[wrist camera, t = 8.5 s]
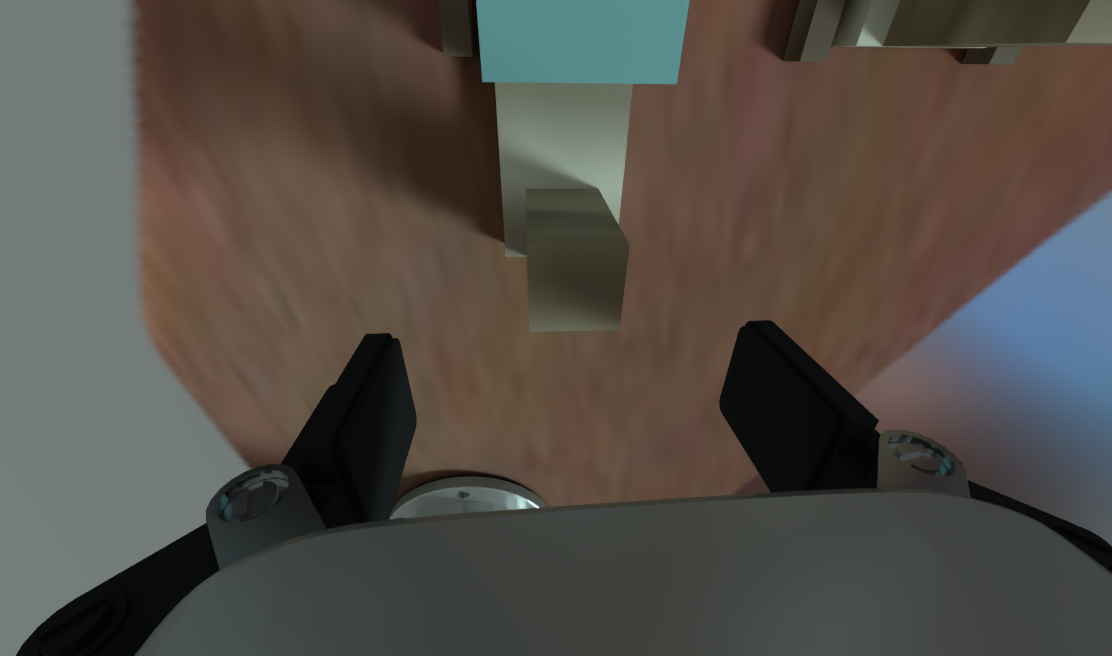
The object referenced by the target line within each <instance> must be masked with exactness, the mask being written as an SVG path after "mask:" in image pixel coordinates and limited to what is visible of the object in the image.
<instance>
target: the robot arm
mask: <svg viewBox="0 0 1112 656" xmlns="http://www.w3.org/2000/svg"><path fill="white" fill-rule="evenodd" d="M719 406H720V410H721V412H722V414H723V416H724V417H725V419H726V421H727V422H728V424H729V425H730V427H731V429H732V430H733V432H734V434H735V435H736V437H737V438H738V440H739V442H740V443H741V445H742V446H743V448H744V450H745V451H746V453H747V455H748V456H749V458H750V459H751V461H752V463H753V464H754V466H755V467H756V469H757V471H758V472H759V474H760V475H761V477H762V479H763V480H764V482H765V484H766V485H767V487H768V488H769V490H770V491H771V493H757V494H741V495H724V496H707V497H691V498H676V499H660V500H645V501H630V502H615V503H600V504H585V505H570V506H556V507H547V506H546V505H545V504H544V502H543V501H542V500H541V499H540V498H539V497H537V496H536V495H535V494H534V493H532V492H530V491H529V490H527V489H525V488H523V487H522V486H519V485H516V484H514V483H511V482H508V481H504V480H500V479H495V478H488V477H478V476H465V477H453V478H446V479H441V480H437V481H433V482H430V483H427V484H424V485H422V486H420V487H418V488H415V489H413V490H412V491H410V492H409V493H407V494H406V495H404V496H403V497H402V498H401V499H400V500H399V501H398V502H397V503H396V504H395V506H394V508H393V510H392V511H391V509H392V506H393V502H394V499H395V496H396V492H397V489H398V486H399V482H400V479H401V476H402V472H403V469H404V465H405V462H406V459H407V455H408V452H409V449H410V445H411V442H412V439H413V435H414V432H415V428H416V420H417V419H416V412H415V407H414V403H413V398H412V394H411V389H410V385H409V380H408V376H407V372H406V367H405V363H404V358H403V354H402V349H401V345H400V341H399V339H397V338H392V336H391V334H389V333H380V334H366V335H365V336H364V338H363V339H362V341H361V343H360V344H359V346H358V348H357V349H356V351H355V352H354V354H353V356H352V357H351V359H350V361H349V362H348V364H347V366H346V367H345V369H344V370H343V372H342V374H341V375H340V377H339V379H338V380H337V382H336V384H334V385H332V386H330V387H329V388H328V389H327V391H326V392H325V394H324V396H323V397H322V399H321V400H320V402H319V404H318V405H317V407H316V408H315V410H314V412H313V413H312V415H311V416H310V418H309V420H308V421H307V423H306V424H305V426H304V428H303V429H302V431H301V432H300V434H299V436H298V437H297V439H296V440H295V442H294V444H293V445H292V447H291V448H290V450H289V452H288V453H287V455H286V456H285V458H284V460H283V461H282V463H281V464H269V465H264V466H259V467H256V468H254V469H251V470H249V471H246V472H244V473H242V474H241V475H239V476H237V477H235V478H234V479H232V480H231V481H229V482H228V483H227V484H226V485H224V486H223V487H222V488H221V489H220V490H219V491H218V492H217V493H216V494H215V496H214V497H213V498H212V499H211V501H210V503H209V505H208V507H207V509H206V522H207V523H206V524H204V525H202V526H200V527H199V528H197V529H195V530H194V531H192V532H190V533H188V534H186V535H185V536H183V537H181V538H180V539H178V540H176V541H174V542H173V543H171V544H169V545H167V546H166V547H164V548H163V549H161V550H159V551H157V552H155V553H154V554H152V555H150V556H148V557H147V558H145V559H143V560H142V561H140V562H138V563H137V564H135V565H133V566H131V567H129V568H128V569H126V570H124V571H123V572H121V573H119V574H117V575H116V576H114V577H112V578H110V579H109V580H107V581H105V582H104V583H102V584H100V585H98V586H97V587H95V588H93V589H92V590H90V591H88V592H86V593H84V594H83V595H81V596H80V597H78V598H76V599H74V600H73V601H71V602H70V603H68V604H67V605H65V606H64V607H63V608H61V609H59V610H58V611H56V612H55V613H54V614H53V615H52V616H50V617H49V618H48V619H47V620H46V621H45V622H43V623H42V624H41V625H40V626H39V627H38V628H37V629H36V630H35V631H34V632H33V633H32V635H31V636H30V637H29V638H28V639H27V640H26V641H25V643H24V644H23V645H22V646H21V648H20V650H19V651H18V653H17V655H16V656H1112V546H1111V545H1109V544H1108V543H1107V542H1106V541H1105V540H1103V539H1102V538H1101V537H1099V536H1098V535H1096V534H1094V533H1092V532H1091V531H1089V530H1086V529H1084V528H1082V527H1079V526H1077V525H1074V524H1072V523H1070V522H1068V521H1065V520H1063V519H1060V518H1058V517H1055V516H1053V515H1051V514H1048V513H1046V512H1043V511H1041V510H1039V509H1036V508H1034V507H1031V506H1029V505H1027V504H1024V503H1022V502H1019V501H1017V500H1014V499H1012V498H1010V497H1007V496H1005V495H1002V494H1000V493H998V492H995V491H993V490H990V489H988V488H985V487H983V486H980V485H978V484H976V483H973V482H971V481H969V480H967V476H966V471H965V468H964V466H963V464H962V462H961V461H960V460H959V459H958V458H957V457H956V455H955V454H953V453H952V452H951V451H950V450H948V449H947V448H946V447H944V446H943V445H941V444H939V443H938V442H936V441H934V440H932V439H930V438H928V437H925V436H923V435H921V434H918V433H914V432H910V431H906V430H897V429H895V430H887V431H885V432H884V433H882V434H881V435H880V434H879V433H878V432H877V431H876V430H875V427H876V425H877V423H878V421H879V420H878V419H877V418H876V417H874V416H873V415H872V414H871V413H870V412H869V411H868V410H867V409H866V408H865V407H864V406H863V405H862V404H861V403H859V402H858V401H857V400H856V399H855V398H854V397H853V396H852V395H851V394H850V393H849V392H848V391H847V390H846V389H845V388H843V387H842V386H841V385H840V384H839V383H838V382H837V381H836V380H835V379H834V378H833V377H832V376H831V375H829V374H828V373H827V372H826V371H825V370H824V369H823V368H822V367H821V366H820V365H819V364H818V363H817V362H816V361H814V360H813V359H812V358H811V357H810V356H809V355H808V354H807V353H806V352H805V351H804V350H803V349H802V348H801V347H799V346H798V345H797V344H796V343H795V342H794V341H793V340H792V339H791V338H790V337H789V336H788V335H787V334H785V333H784V332H783V331H782V330H781V329H780V328H779V327H778V326H777V325H776V324H775V323H774V322H772V321H769V320H765V321H749V322H747V323H746V325H745V326H743V327H741V328H740V330H739V332H738V336H737V339H736V343H735V347H734V350H733V354H732V357H731V361H730V364H729V368H728V371H727V375H726V379H725V382H724V386H723V389H722V393H721V396H720V401H719ZM390 512H391V513H390ZM389 516H390V517H389ZM388 519H389V520H388Z"/></svg>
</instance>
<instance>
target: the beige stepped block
mask: <svg viewBox="0 0 1112 656" xmlns="http://www.w3.org/2000/svg"><path fill="white" fill-rule="evenodd" d="M632 87H633V84H618V83H525V82H495V93H496V109H497V125H498V141H499V158H500V174H501V190H502V206H503V223H504V239H505V255H506V257H527V271H528V305H529V332H550V331H588V330H619V327H620V319H621V311H622V303H623V294H624V286H625V278H626V269H627V261H628V253H629V243H628V241H627V240H626V238H625V236H624V234H623V232H622V231H621V229H620V227H619V215H620V205H621V195H622V186H623V176H624V166H625V156H626V146H627V136H628V127H629V117H630V107H631V97H632Z"/></svg>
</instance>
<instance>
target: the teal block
mask: <svg viewBox="0 0 1112 656" xmlns="http://www.w3.org/2000/svg"><path fill="white" fill-rule="evenodd" d="M689 1H690V0H476V5H477V18H478V31H479V44H480V57H481V70H482V82H525V83H618V84H677V79H678V73H679V66H680V60H681V53H682V47H683V40H684V34H685V27H686V21H687V14H688V7H689Z"/></svg>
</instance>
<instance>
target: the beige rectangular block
mask: <svg viewBox="0 0 1112 656" xmlns="http://www.w3.org/2000/svg"><path fill="white" fill-rule="evenodd" d="M1111 45H1112V0H846V1H845V4H844V7H843V10H842V13H841V16H840V19H839V23H838V26H837V29H836V32H835V35H834V38H833V41H832V44H831V46H844V47H903V48H986V47H1034V46H1111Z"/></svg>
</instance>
